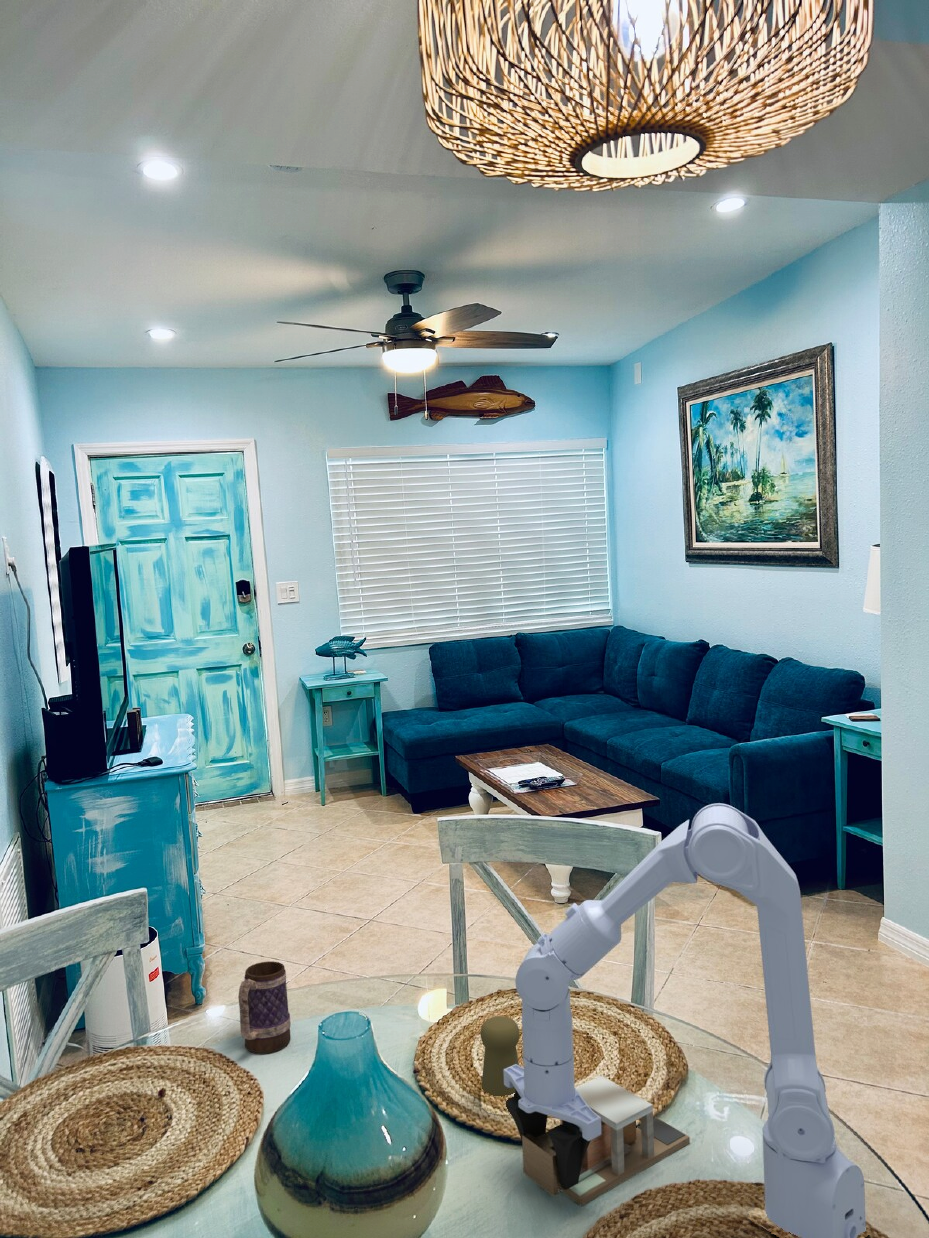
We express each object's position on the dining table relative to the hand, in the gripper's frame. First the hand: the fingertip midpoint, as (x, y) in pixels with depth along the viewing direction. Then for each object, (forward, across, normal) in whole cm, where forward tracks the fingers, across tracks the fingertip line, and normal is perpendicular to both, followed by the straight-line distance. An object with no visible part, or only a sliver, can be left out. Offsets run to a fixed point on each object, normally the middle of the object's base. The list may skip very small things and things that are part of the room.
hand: (552, 1171), depth 101 cm
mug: (+2, -52, -13) cm, 54 cm away
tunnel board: (+2, 0, +9) cm, 9 cm away
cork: (+2, -17, +6) cm, 18 cm away
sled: (+1, 0, +5) cm, 5 cm away
